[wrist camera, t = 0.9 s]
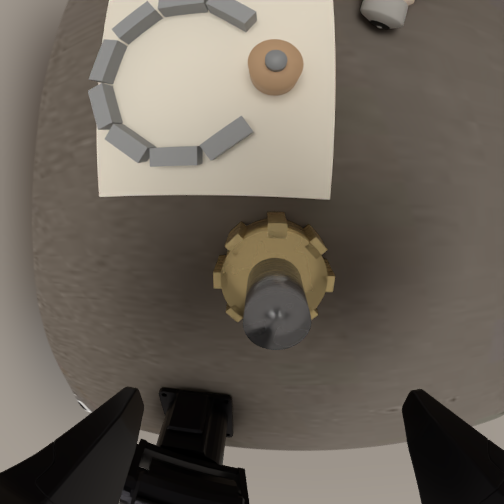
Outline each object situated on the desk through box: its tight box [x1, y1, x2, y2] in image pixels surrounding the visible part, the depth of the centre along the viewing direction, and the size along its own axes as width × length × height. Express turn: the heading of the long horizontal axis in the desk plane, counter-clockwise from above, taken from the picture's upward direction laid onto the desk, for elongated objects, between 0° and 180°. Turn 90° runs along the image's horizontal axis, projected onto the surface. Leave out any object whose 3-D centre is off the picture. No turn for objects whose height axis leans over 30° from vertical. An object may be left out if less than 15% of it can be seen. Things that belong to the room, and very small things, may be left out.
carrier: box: [88, 0, 335, 200], centre depth 13 cm, size 14×14×4 cm
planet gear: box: [213, 212, 335, 350], centre depth 16 cm, size 7×7×7 cm
